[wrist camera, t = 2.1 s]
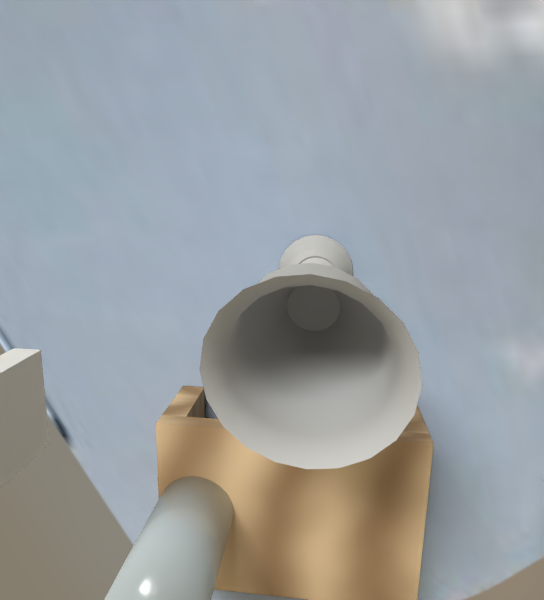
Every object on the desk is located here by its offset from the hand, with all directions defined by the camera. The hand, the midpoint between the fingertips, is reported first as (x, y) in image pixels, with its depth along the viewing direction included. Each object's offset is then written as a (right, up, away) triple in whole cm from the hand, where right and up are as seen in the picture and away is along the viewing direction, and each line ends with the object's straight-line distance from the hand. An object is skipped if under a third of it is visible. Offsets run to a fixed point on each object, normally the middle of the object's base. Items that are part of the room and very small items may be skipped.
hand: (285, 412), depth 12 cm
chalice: (+3, +5, +21) cm, 22 cm away
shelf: (+1, -10, +24) cm, 26 cm away
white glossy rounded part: (-5, -11, +19) cm, 23 cm away
